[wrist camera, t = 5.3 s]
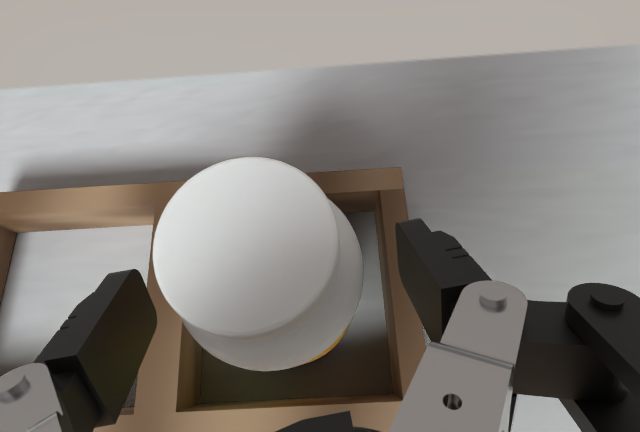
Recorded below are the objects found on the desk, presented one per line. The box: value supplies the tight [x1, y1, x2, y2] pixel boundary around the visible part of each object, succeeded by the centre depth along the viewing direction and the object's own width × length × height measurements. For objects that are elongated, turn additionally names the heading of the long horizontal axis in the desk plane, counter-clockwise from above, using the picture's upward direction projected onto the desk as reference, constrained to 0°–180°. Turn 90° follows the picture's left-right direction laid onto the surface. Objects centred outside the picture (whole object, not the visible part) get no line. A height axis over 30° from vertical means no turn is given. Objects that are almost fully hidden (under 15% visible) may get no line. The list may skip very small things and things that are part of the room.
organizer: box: [0, 167, 426, 432], centre depth 16 cm, size 20×10×2 cm, turn 93°
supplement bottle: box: [153, 157, 363, 371], centre depth 13 cm, size 5×5×10 cm
